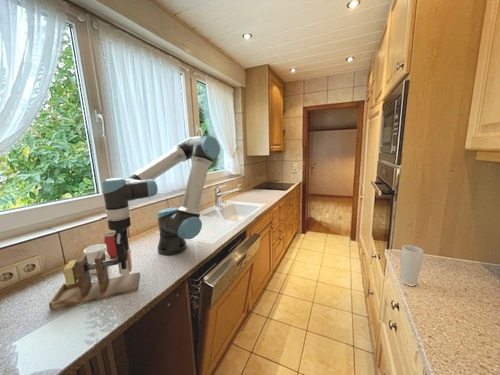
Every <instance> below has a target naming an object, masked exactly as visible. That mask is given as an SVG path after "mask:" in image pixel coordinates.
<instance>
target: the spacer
mask: <svg viewBox="0 0 500 375" xmlns="http://www.w3.org/2000/svg"><path fill="white" fill-rule="evenodd" d="M76 260H77V259H72V260H69V261H68V263H67V264H66V266H64V268H62V269H63V270H64V274H63V275H64V279H65V283H66V286H67V285H72V284H75V283H76V281H78V278H77V273H74V268H75V262H76ZM63 270H62V271H63Z"/></svg>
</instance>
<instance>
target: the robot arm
mask: <svg viewBox="0 0 500 375" xmlns="http://www.w3.org/2000/svg"><path fill="white" fill-rule="evenodd" d="M172 147H173V148H172V149H171V150H170V151H168V152H167V153H164V154H163V155H161V156H160V157H158V158H157V159H155V160H153V161H151V162H150V163H148V164H146V165H145V166H144V167H142V168H140V169H138V170H137V171H135V172H133V173H131V174H130V175H128V176H124V177H115V178H113V177H112V178H106V179H104V180H102V184H101V185H102V193H103V199H104V205H105V211H104V213H105V214H106V218H107V226H108V230H110V231H114V232H116V234H114V237H115V240H114V242H115V245H116V252H117V257H116V258H118V260H117V262H118V263H120V269H121V274H120V276H126V275H129V274H130V272H129V267H128V259H127V257H126V250H127V249H130V246H129V245H130V244H129V238H128V236H129V235H128V228H130V227H131V225H132V224H131V216H130V206H129V202H130V201H135V200H140V199H146V198H153V197H155V196H156V195H157V194H158V185H157V182H156V181H155V179H156V180H157V178H158V177H160V176H162V175H164V174H165V173H166V172H168V171H169V170H170V169H173V168H174V167H175V166H177V165H178V164H180V163H183V162H186V161H189V160H190V159H191V161H192V162H191V166H190V167H191V168H190V171H189V175H188V178H187V183H186V186H185V190H184V195H183V198H182V202H181V206H180V207H168V208H164V209H161V210H159V211H158V213H157V221H158V222H157V223H158V230H159V231H158V232H159V241H158V245H157V252H158V254H159V255H163V256H171V255H176V254H179V253H181V252H184V251H185V250H186V249H187V242H186V241H187V240H193V239H194V238H195V237H197V236H198V235H199V234H200V232H201V230H202V227H203V222H202V220H201V219H200V216H201V215H200V214H201V212H200V211H199V207H200V203H201V199H202V196H203V192H204V187H205V184H206V183H205V182H206V179H207V176H208V171H209V167H210V166H211V165H213V163H214V159H217V158H218V157H219V156H220V153H221V146H220V144H219V141H218V140H217V139H216V137H214V136H212V135H201V136H190V137H188V138H186V139H183V141H180V142H179V143H177V144H176V145H174V146H172ZM131 252H132V250H130V254H131Z"/></svg>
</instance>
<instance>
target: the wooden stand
mask: <svg viewBox="0 0 500 375" xmlns="http://www.w3.org/2000/svg"><path fill="white" fill-rule="evenodd" d="M75 260H76V262H75V267H76V273H77V278H78V280H77V281H76V283H75V284H72V285H67V286H66V282H65V283H62V285H61V286H60V287H59V289H58V290H57V292H56V293H55V295H54V296H53V298H52V299H51V301H50V302H49V303H48V305H49V310H50V312H53V311H58V310H62V309H63V310H64V309H66V308H70V307H75V306H78V305H83V304H87V303H90V302H95V301H99V300H103V299H107V298H112V297H116V296H119V295H120V296H121V295H123V294H128V293H132V292H136V291H138V290H139V289H138V287H139V282H140V275H141V274H140V272H133V273H129V275H126V276H121V275H120V276H117V277H109V271H108V268H107V267H103V261H106V258H105V251H103V252H98V254H97V256H96V257H95V259H94V260H95V266H96V272H97V273H96V275H97V281H93V282H92V279H91V278H92V277H91V274H90V272H89V270H87V271H85V270H84V264H88V260H87V255H86V254H85V255H84V254H82V255H79V256H78V258H77V259H75Z"/></svg>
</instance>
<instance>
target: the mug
mask: <svg viewBox="0 0 500 375" xmlns="http://www.w3.org/2000/svg"><path fill="white" fill-rule="evenodd" d="M103 251H105V258H106V260H111V258H110V256H109V255H108V253H107V247H106V245H105V243H99V244H93V245H89V246H88V247H86V248H84V249H83V255H85V254H86V255H87V260H88V264H89V263H95V260H94V259H95V257H96V256H97V254H98V252H103ZM109 267H110V266H107V269H108V268H109ZM89 272H90V275H92V274H95V275H96V274H97V272H96V269H92V270H89Z"/></svg>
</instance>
